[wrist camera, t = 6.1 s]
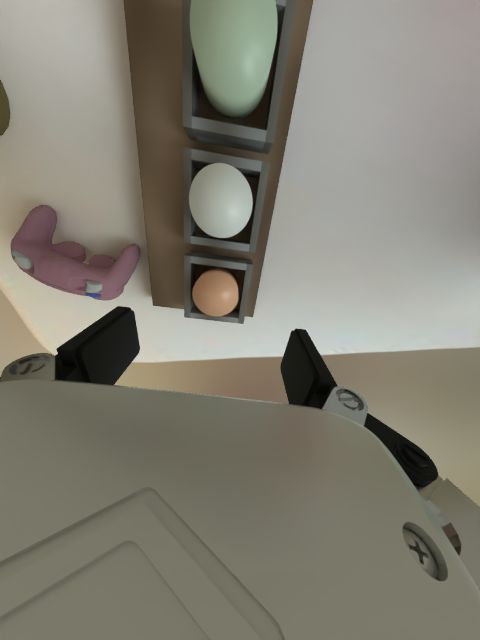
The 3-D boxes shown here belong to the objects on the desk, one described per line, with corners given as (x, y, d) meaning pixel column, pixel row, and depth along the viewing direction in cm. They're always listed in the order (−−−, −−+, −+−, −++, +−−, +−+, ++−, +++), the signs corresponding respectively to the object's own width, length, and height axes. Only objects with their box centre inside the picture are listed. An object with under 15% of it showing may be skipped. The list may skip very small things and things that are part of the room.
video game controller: (58, 237, 21) (2, 276, 17) (41, 197, 18) (-36, 234, 14) (144, 273, 24) (112, 315, 19) (144, 243, 20) (104, 287, 16)
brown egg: (240, 268, 19) (241, 276, 17) (235, 306, 22) (235, 318, 19) (198, 263, 19) (192, 270, 16) (197, 302, 21) (192, 313, 19)
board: (316, -41, 12) (353, -166, 8) (251, 310, 24) (254, 327, 20) (129, -92, 11) (71, -259, 7) (159, 299, 24) (143, 315, 20)
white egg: (254, 178, 15) (257, 169, 12) (245, 238, 17) (247, 241, 14) (198, 168, 14) (189, 157, 12) (196, 231, 16) (188, 233, 14)
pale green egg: (275, 24, 11) (287, -37, 8) (261, 124, 13) (267, 100, 10) (201, 6, 11) (190, -63, 8) (199, 112, 13) (189, 84, 10)
